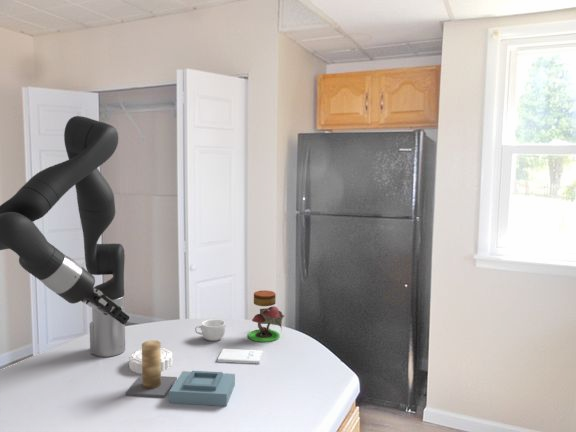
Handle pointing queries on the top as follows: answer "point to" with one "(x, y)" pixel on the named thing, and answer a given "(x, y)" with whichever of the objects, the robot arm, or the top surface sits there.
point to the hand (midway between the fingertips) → (117, 316)
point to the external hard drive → (240, 356)
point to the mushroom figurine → (266, 317)
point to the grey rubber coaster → (157, 392)
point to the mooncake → (136, 360)
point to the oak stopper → (151, 364)
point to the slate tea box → (202, 388)
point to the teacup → (212, 329)
